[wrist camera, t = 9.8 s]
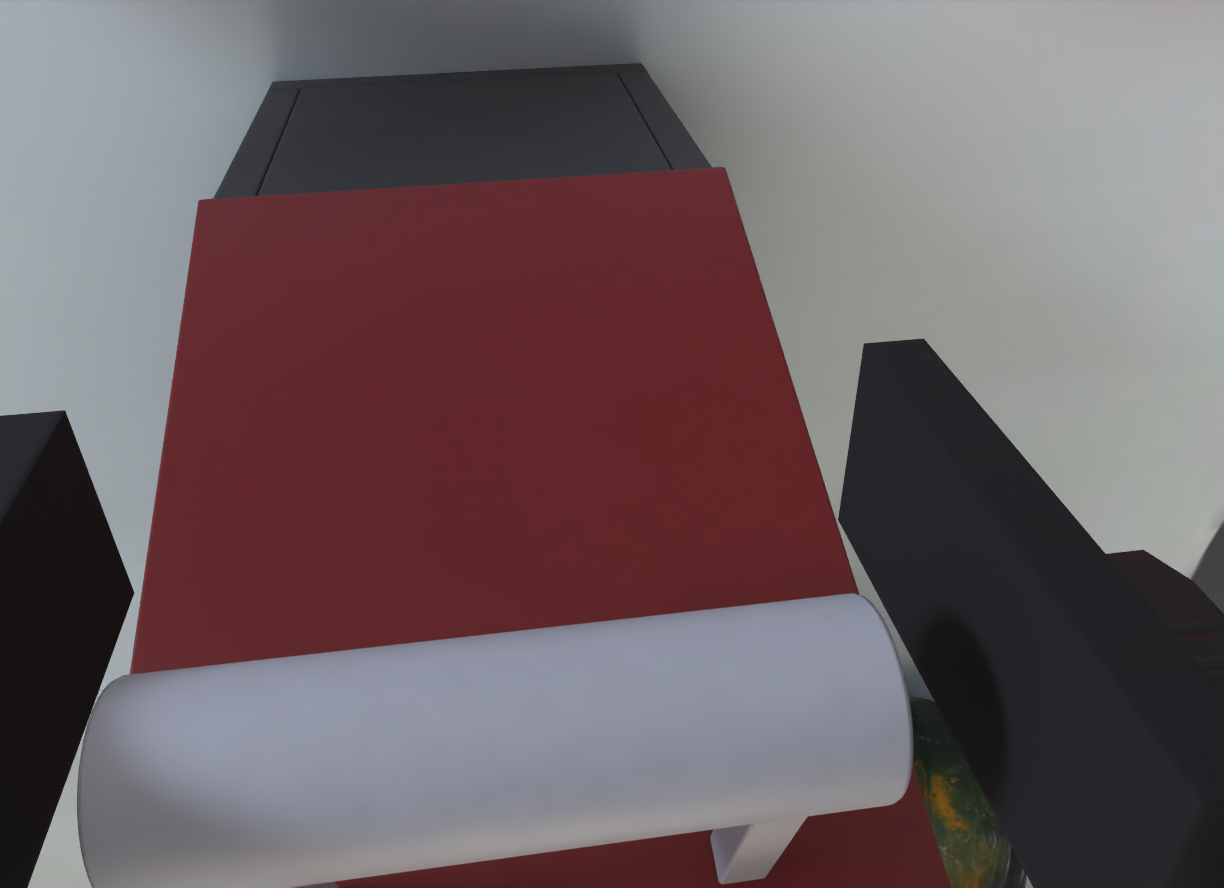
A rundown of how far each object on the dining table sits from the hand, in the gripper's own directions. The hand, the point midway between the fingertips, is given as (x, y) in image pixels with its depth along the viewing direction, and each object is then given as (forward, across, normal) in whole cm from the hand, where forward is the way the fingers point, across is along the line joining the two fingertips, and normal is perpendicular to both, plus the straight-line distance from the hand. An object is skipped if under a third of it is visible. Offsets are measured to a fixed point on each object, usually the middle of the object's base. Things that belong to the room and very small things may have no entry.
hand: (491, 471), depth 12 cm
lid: (+4, 0, -5) cm, 6 cm away
